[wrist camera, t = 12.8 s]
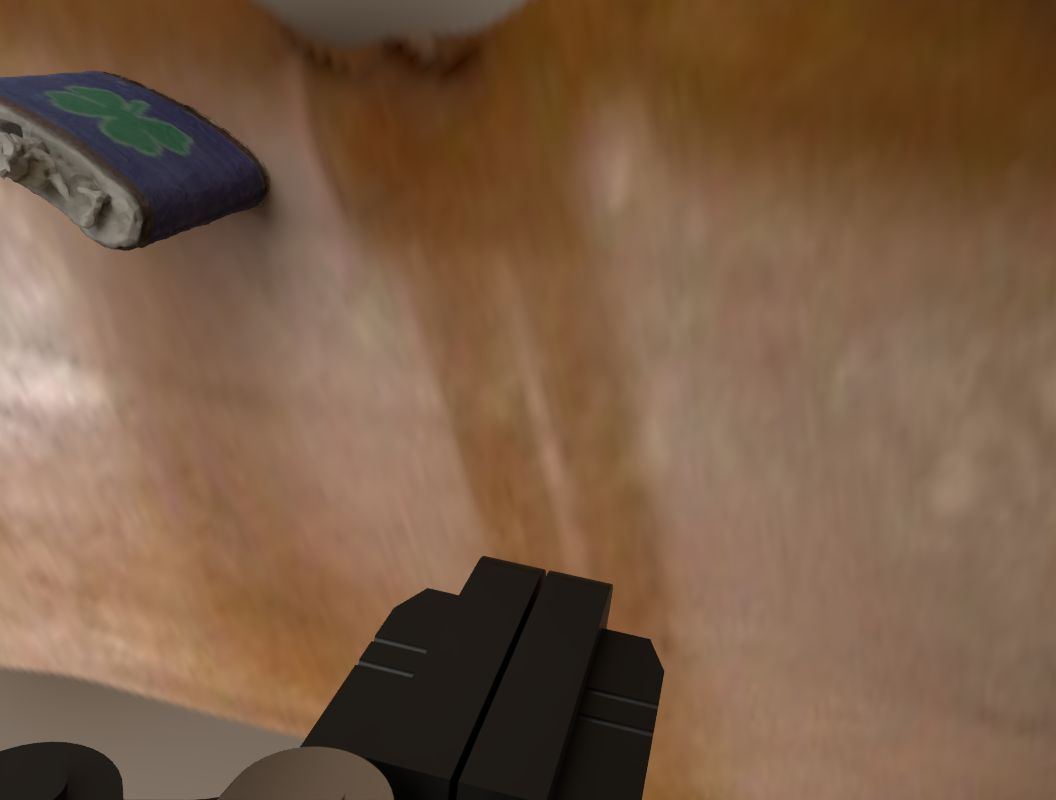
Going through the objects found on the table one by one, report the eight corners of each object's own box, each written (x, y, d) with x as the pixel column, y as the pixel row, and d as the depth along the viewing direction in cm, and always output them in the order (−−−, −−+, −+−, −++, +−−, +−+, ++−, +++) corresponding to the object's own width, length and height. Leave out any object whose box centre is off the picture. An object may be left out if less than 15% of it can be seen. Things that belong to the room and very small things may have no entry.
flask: (72, 113, 43) (-139, 134, 33) (92, 48, 41) (-120, 49, 32) (258, 223, 42) (103, 278, 32) (284, 161, 41) (130, 198, 31)
